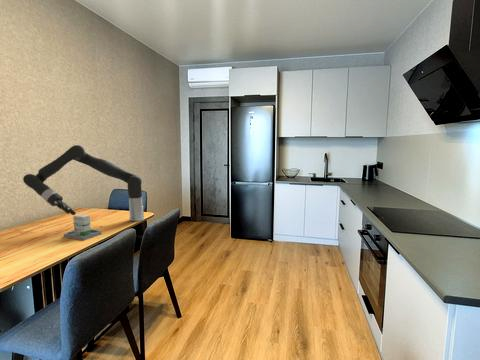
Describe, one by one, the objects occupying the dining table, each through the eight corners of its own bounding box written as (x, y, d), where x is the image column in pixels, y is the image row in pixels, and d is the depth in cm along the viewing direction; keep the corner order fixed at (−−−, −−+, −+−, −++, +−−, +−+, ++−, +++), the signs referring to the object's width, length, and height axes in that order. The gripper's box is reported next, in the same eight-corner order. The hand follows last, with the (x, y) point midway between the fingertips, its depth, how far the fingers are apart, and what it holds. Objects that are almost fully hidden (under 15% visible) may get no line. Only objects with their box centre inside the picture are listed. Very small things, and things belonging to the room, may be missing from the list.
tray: (82, 230, 174) (82, 227, 174) (101, 233, 168) (101, 230, 168) (63, 237, 162) (63, 233, 162) (84, 240, 156) (83, 236, 156)
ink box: (91, 234, 166) (90, 215, 164) (84, 236, 161) (83, 217, 160) (81, 232, 169) (79, 214, 167) (74, 234, 164) (72, 215, 163)
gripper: (51, 190, 164) (72, 207, 164) (61, 195, 177) (80, 210, 177) (41, 200, 161) (62, 216, 162) (52, 203, 175) (71, 219, 175)
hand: (72, 213), depth 170 cm, fingers open, 8 cm apart
